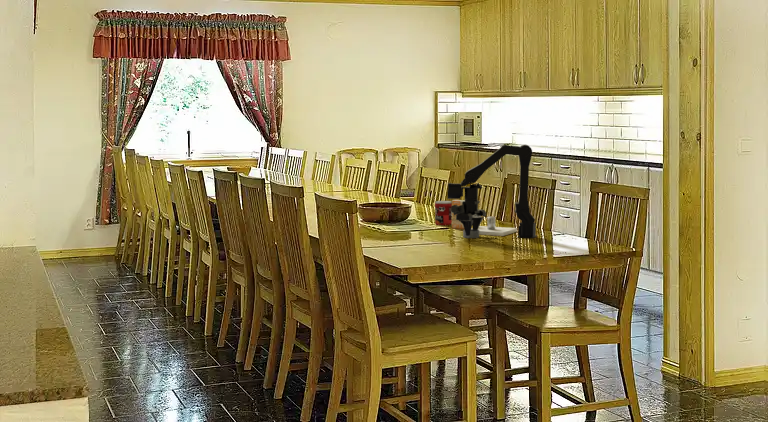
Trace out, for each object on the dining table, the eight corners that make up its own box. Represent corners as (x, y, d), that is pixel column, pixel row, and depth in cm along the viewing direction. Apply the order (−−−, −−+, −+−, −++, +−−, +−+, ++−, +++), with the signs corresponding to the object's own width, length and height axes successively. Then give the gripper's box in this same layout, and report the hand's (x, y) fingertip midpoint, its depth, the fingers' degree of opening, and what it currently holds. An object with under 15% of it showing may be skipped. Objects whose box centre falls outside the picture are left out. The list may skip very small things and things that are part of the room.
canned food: (432, 224, 456) (432, 201, 455) (446, 223, 460) (446, 200, 459) (439, 225, 450) (439, 202, 448) (454, 224, 453) (454, 201, 452)
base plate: (516, 231, 427) (516, 228, 427) (502, 235, 414) (502, 232, 413) (480, 229, 436) (480, 225, 436) (465, 233, 423) (465, 230, 422)
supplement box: (451, 228, 440) (451, 200, 438) (455, 227, 444) (455, 199, 442) (467, 229, 436) (467, 201, 434) (471, 228, 440) (471, 200, 439)
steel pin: (496, 228, 425) (496, 216, 425) (493, 229, 422) (493, 217, 422) (489, 228, 427) (489, 216, 427) (486, 229, 424) (486, 217, 424)
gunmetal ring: (481, 236, 413) (481, 229, 412) (475, 238, 407) (475, 231, 406) (467, 235, 416) (467, 228, 416) (460, 237, 410) (460, 230, 410)
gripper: (463, 196, 422) (463, 230, 423) (444, 200, 405) (444, 236, 407) (486, 197, 416) (486, 232, 418) (468, 201, 400) (468, 237, 402)
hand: (471, 234), depth 411 cm, fingers closed on gunmetal ring, 7 cm apart
